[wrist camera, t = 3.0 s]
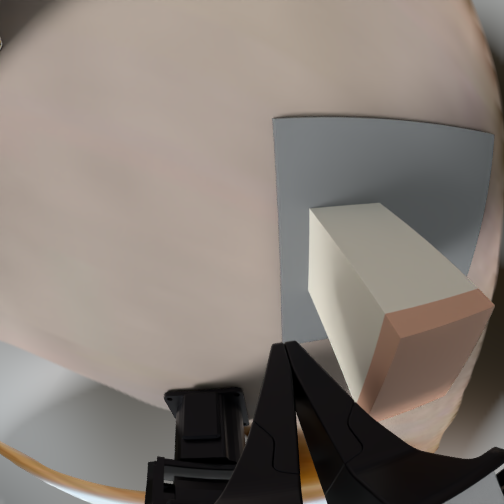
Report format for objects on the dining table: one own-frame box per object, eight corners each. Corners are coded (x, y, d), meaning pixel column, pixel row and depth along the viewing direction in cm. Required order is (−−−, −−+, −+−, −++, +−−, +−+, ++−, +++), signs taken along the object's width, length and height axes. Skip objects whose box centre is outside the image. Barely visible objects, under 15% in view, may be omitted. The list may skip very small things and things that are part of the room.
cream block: (369, 279, 17) (445, 395, 9) (308, 289, 17) (363, 426, 9) (379, 202, 15) (495, 305, 7) (309, 208, 14) (400, 338, 7)
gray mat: (452, 301, 20) (456, 305, 20) (281, 339, 20) (283, 346, 19) (488, 132, 13) (494, 134, 13) (272, 118, 13) (274, 119, 12)
